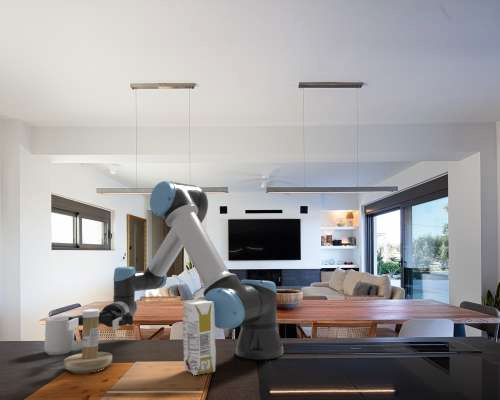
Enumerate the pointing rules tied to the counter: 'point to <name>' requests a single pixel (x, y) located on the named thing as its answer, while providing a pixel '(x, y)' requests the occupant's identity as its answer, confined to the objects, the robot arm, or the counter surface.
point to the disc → (87, 363)
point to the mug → (58, 336)
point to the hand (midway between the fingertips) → (90, 325)
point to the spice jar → (90, 334)
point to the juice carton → (199, 336)
